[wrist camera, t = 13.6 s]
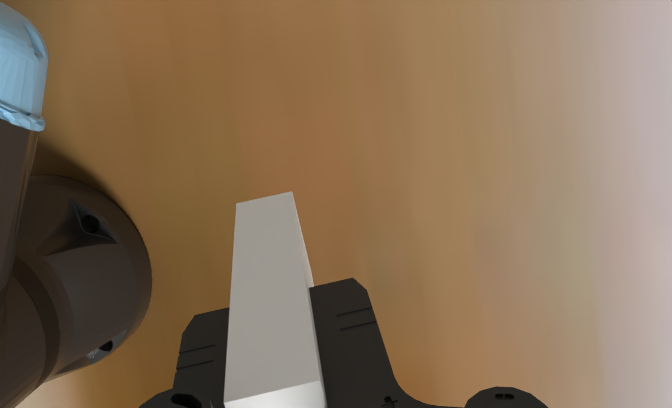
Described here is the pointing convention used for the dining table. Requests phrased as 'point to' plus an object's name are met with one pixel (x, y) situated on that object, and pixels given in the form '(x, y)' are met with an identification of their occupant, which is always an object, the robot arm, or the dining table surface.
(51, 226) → the robot arm
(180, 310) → the dining table surface
